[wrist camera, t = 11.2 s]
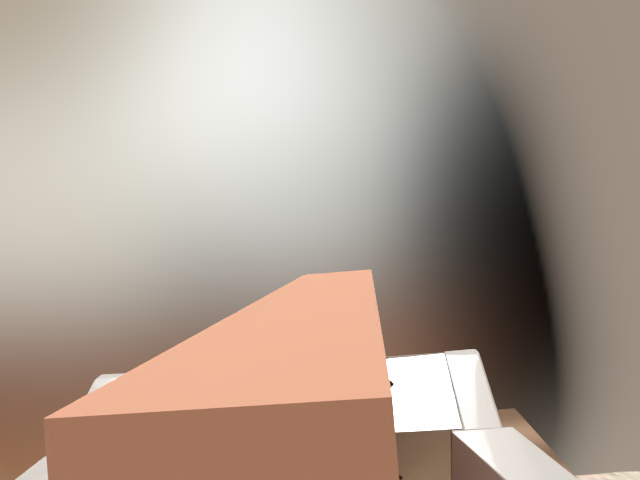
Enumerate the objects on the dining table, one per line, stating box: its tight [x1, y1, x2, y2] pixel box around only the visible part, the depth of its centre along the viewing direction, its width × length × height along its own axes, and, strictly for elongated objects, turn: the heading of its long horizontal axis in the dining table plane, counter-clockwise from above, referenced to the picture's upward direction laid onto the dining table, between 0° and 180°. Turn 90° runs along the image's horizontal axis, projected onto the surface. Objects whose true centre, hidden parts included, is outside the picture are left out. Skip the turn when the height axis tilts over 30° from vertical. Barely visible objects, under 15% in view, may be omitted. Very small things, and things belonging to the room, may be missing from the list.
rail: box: [43, 270, 399, 480], centre depth 16 cm, size 22×3×3 cm, turn 176°
